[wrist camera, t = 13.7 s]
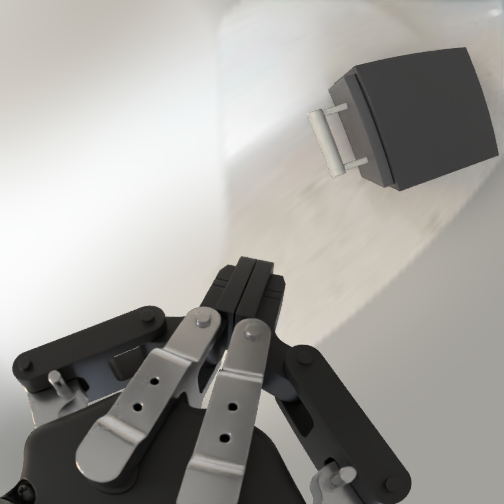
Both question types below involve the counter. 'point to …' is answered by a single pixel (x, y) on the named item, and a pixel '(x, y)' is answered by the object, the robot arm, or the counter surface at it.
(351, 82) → the dark grey drawer
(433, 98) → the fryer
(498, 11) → the counter surface
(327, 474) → the robot arm
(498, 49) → the counter surface
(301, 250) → the counter surface
